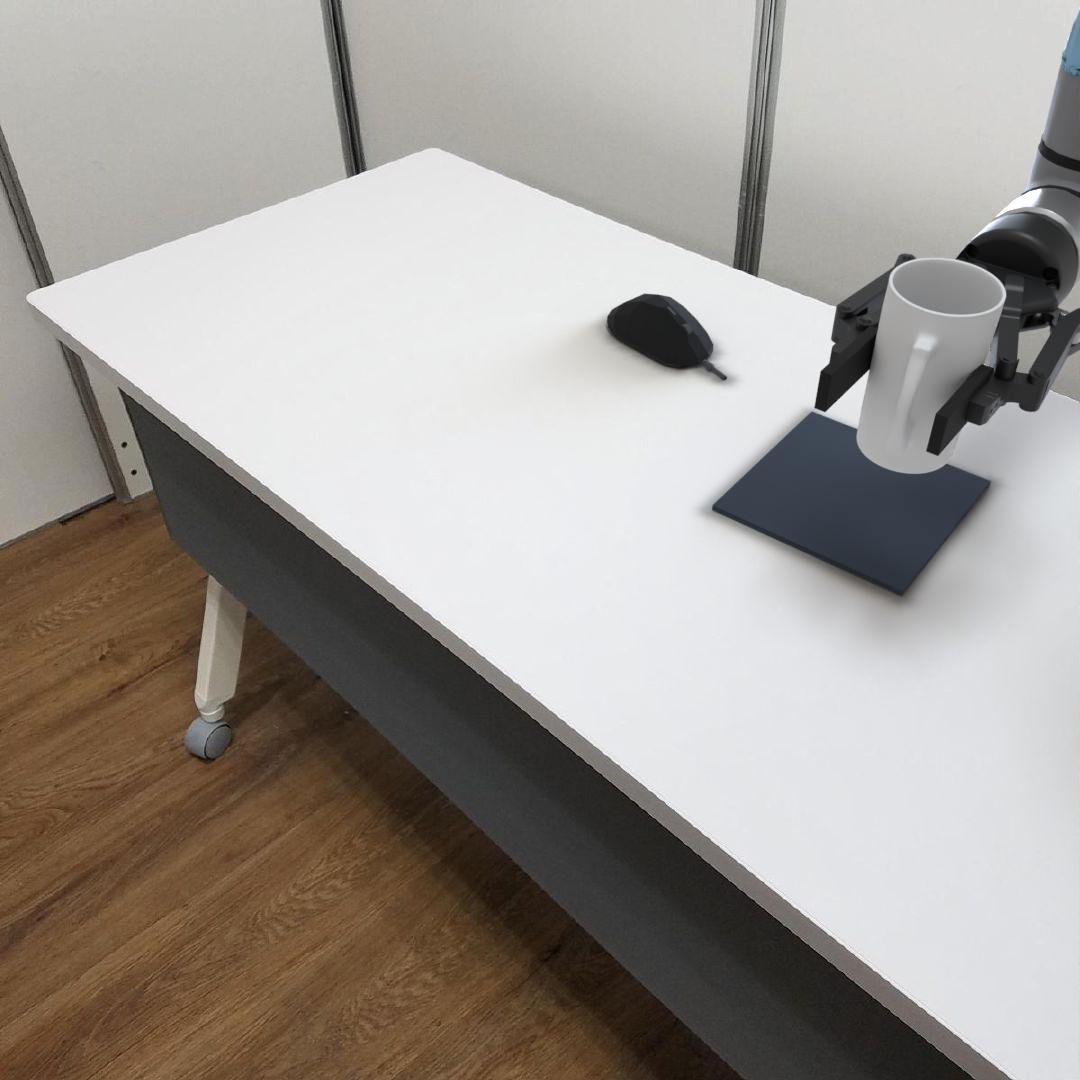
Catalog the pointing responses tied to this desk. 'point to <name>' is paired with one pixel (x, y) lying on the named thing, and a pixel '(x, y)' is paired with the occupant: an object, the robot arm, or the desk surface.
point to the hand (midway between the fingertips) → (878, 412)
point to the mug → (925, 357)
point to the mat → (851, 504)
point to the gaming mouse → (662, 331)
